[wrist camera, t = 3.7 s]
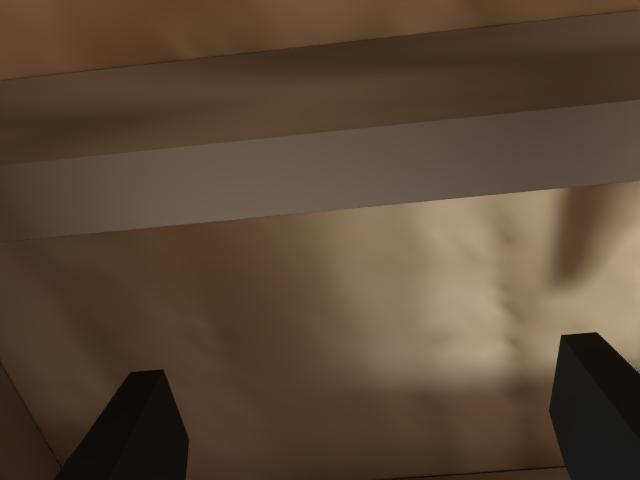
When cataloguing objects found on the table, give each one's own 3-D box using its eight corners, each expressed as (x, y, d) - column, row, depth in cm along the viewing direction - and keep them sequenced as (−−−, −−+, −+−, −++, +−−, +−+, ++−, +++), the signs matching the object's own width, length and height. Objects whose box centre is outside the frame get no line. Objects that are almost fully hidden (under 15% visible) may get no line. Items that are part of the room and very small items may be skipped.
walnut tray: (56, 526, 16) (12, 652, 14) (-215, 104, 10) (-398, 206, 7) (883, 467, 15) (992, 593, 13) (1249, -58, 8) (1635, -4, 6)
